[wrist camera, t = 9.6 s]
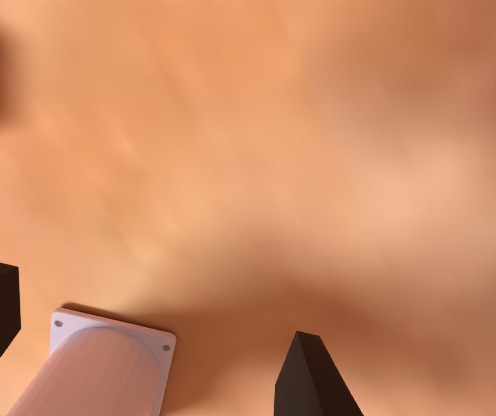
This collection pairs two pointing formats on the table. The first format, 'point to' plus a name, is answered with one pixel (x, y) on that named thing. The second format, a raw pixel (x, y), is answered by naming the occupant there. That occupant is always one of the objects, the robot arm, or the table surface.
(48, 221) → the table surface
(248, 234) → the table surface
